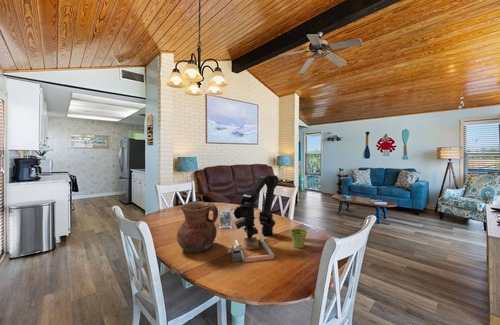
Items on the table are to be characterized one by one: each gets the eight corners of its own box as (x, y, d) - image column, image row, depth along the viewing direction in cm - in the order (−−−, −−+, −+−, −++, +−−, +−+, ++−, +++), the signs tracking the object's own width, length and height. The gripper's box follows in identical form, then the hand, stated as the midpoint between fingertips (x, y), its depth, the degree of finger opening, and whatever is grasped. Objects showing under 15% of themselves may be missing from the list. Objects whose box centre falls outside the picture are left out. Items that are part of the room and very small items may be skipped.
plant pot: (297, 251, 119) (297, 235, 118) (286, 244, 127) (287, 230, 127) (310, 247, 123) (310, 232, 123) (299, 241, 131) (299, 227, 131)
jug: (178, 260, 109) (178, 210, 107) (175, 243, 128) (174, 201, 127) (221, 251, 117) (221, 206, 116) (212, 237, 137) (212, 198, 135)
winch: (240, 256, 112) (240, 243, 112) (242, 262, 107) (242, 248, 106) (226, 258, 110) (226, 245, 110) (228, 263, 105) (228, 250, 105)
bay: (261, 240, 132) (261, 237, 132) (274, 258, 110) (274, 254, 110) (235, 243, 129) (235, 239, 128) (242, 262, 106) (242, 258, 106)
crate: (255, 243, 128) (255, 236, 127) (258, 248, 122) (258, 240, 122) (244, 244, 126) (244, 237, 126) (246, 249, 120) (246, 241, 120)
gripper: (233, 211, 135) (233, 235, 136) (238, 220, 117) (238, 249, 117) (250, 210, 137) (250, 234, 138) (258, 219, 119) (258, 247, 120)
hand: (249, 240), depth 128 cm, fingers closed
